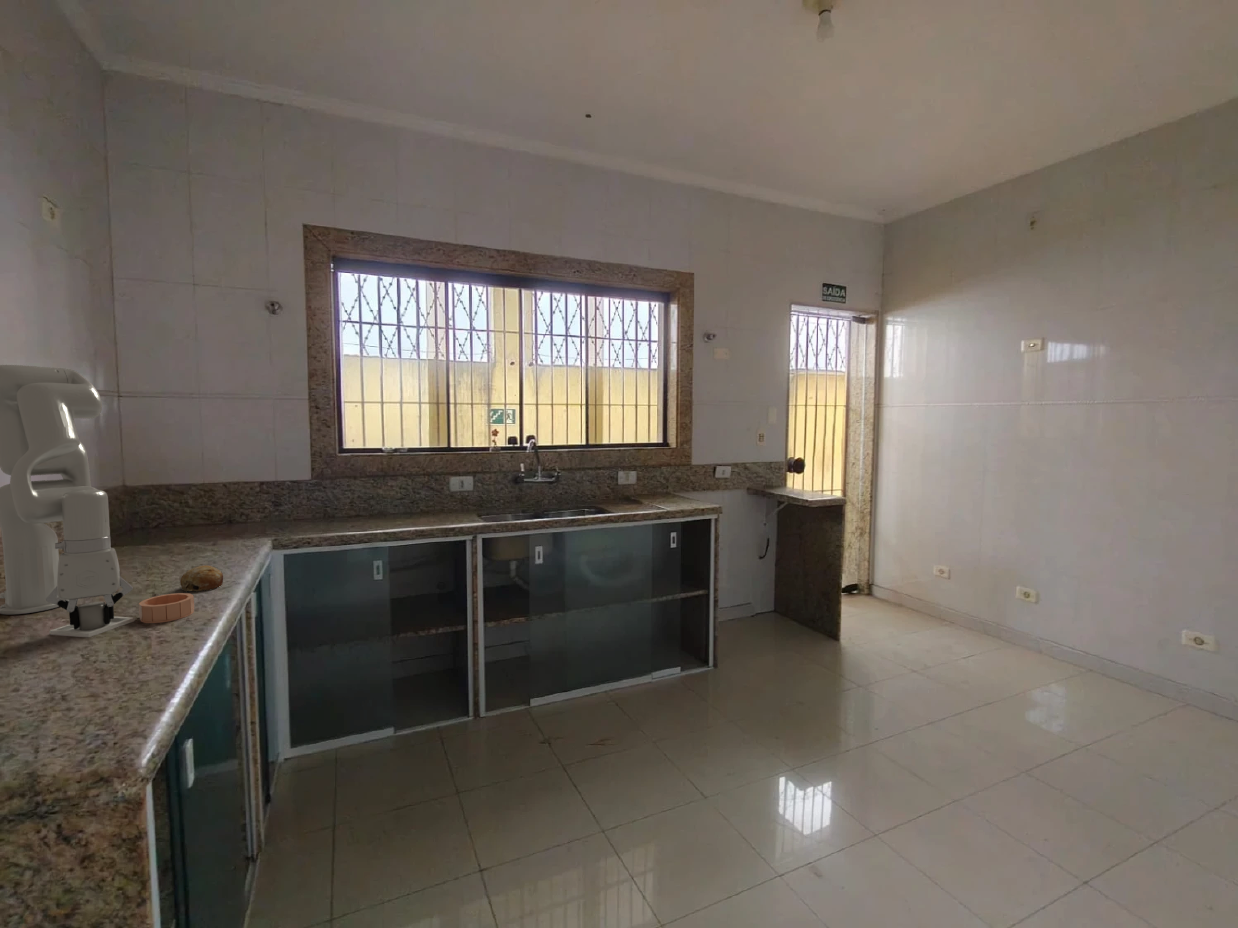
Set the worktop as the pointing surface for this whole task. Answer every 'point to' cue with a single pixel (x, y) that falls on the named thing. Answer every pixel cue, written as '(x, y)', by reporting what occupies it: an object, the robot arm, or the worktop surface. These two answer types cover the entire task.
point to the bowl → (166, 607)
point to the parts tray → (70, 630)
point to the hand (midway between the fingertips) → (92, 624)
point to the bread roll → (201, 579)
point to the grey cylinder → (91, 616)
